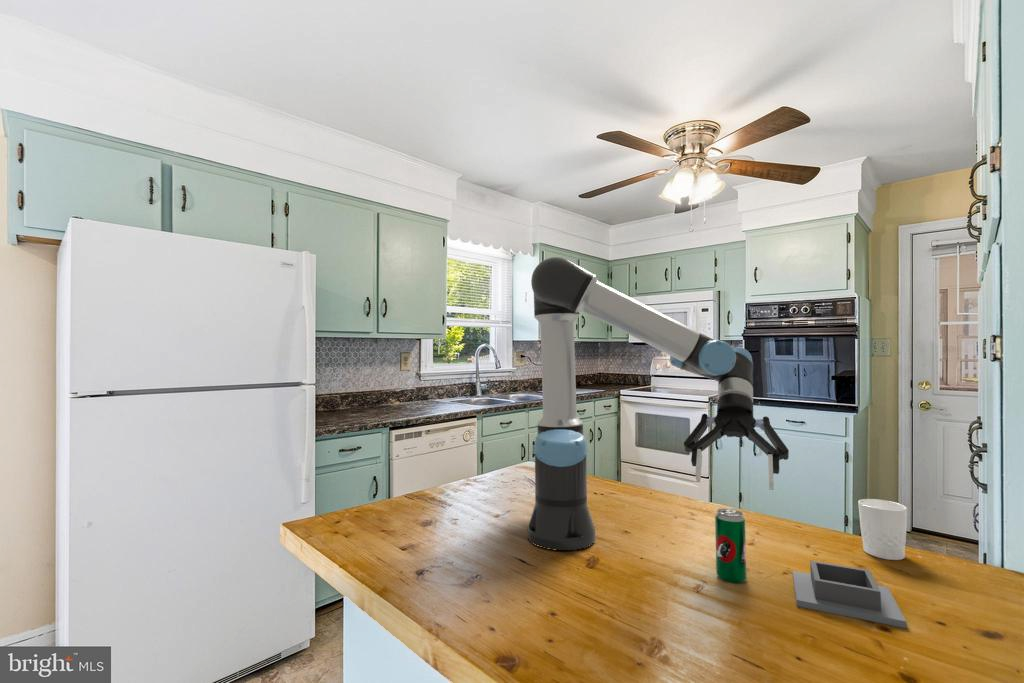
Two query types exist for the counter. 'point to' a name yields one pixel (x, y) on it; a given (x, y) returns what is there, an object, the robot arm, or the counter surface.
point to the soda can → (730, 545)
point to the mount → (846, 593)
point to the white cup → (883, 528)
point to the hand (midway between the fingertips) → (733, 482)
